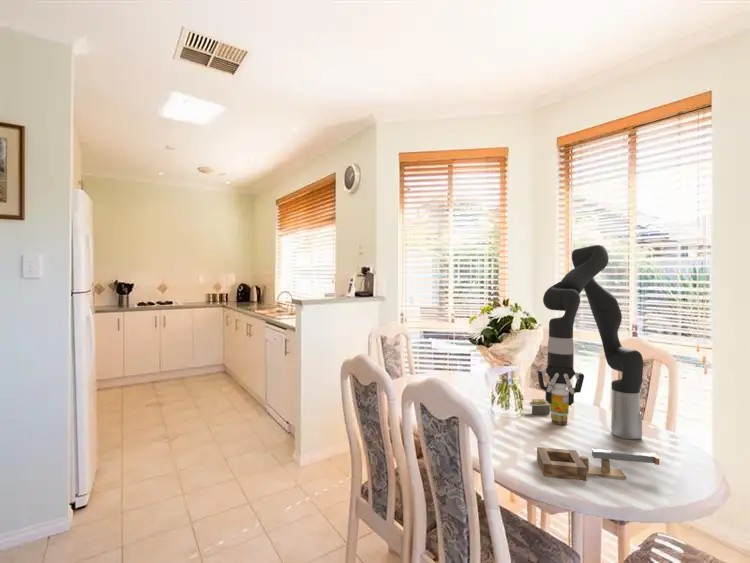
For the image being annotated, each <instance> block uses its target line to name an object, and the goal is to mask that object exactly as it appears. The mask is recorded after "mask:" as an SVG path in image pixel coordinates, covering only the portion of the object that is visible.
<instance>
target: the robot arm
mask: <svg viewBox="0 0 750 563" xmlns="http://www.w3.org/2000/svg"><path fill="white" fill-rule="evenodd" d="M609 261H610V260H609V252H608V251H607V249H606V248H605V246H604V245H602V244H592V245H588V246H583V247H579V248H576V249H573V251H572V252H571V262H572V264H573V269H571V270H570V271H568V272H567V273H566V274H565V275H564V277H563V278H562V279H561V280H560V281H559V282H557V283H555V284H553V285H551V286H550V287H548V289H547V290H546V291H545V292H544V294H543V297H542V298H543V299H542V302H543V304H544V306H545V308H547V310H550V311H559V312H560V311H561V312H562V311H563V312H564V313H563V315H562V316H561V317H553V318H551V319H550V320H549V322H548V339H547V340H548V341H547V361H546V362H547V363H546V364H547V366H546V368H545V369H537V370H536V373H537V374H536V375H537V379H538V384H539V388H540V389H541V390H543V391H545V395H544V396H545V398H544V400H546V401H547V402H548V404H551V392H550V391H551V389H552V387H553V386H554V384H555V383H563V384H567V387H566V389H567V390H568V392H569V406H572V405H573V404H574V403H575V400H574V398H575V394H576V393H581V391H582V387H583V385H584V384H583V383H584V379H585V375H584V373H583V372H578V371H577V372H576V371H575V369H574V353H575V351H574V349H575V348H574V345H575V344H574V323H575V320H576V315H577V312H578V311H579V310H578V309H579V306H580V303H581V295H580V294H581V293H582V292H583V290H584V292H585V295H586V298H587V301H588V305H589V308H590V310H591V313H592V316H593V319H594V321H595V324H596V327H597V330H598V334H599V336H600V340H601V343H602V347H603V348H602V349H603V352H604V357H605V360H606V362H607V363H606V364H607V365H608V367H609V368H611V369H612V370H614V371H618V372H621V373H622V374H621V379H614V380H612V381H611V390H610V391H611V392H610V393H611V394H610V395H611V397H610V398H611V401H610V402H611V404H610V405H611V406H610V407H611V411H610V412H611V420H610V421H611V422H610V423H611V424H610V425H611V434H612V435H614V436H615V437H618V438H620V439H625V440H638V439H639V440H641V439H643V413H642V412H641V387H642V385H643V373H644V358H643V355H642V353H641V352H640V351H639V350H636V349H633V348H626V347H623V346H622V344H621V341H620V339H619V334H618V333H619V329H620V326H621V323H622V319H623V315H622V311H621V309H620V306H619V303H618V302H619V301H618V300H617V298H616V296H614V294H612V293H611V292H610V291H608V290H607V289H606V288H604V287H603V286H602V285H601V284H600V283H599V282H598V281H597V280H596V279H595V278H594V277H596V276H597V275H598V274H599V273H600V272H602V271H603V270H604V269H605V268H606V267H607V266H608V264H609ZM546 374H547V376H548V377H549V379H548V381H547V384H546V385H545V382H544V378H545V376H546ZM574 376H575V379H576V382H575V385H574V387H573V384H572V383H571V379H572V378H574Z"/></svg>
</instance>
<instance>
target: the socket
mask: <svg viewBox="0 0 750 563" xmlns="http://www.w3.org/2000/svg"><path fill="white" fill-rule="evenodd" d="M580 456H581V455H580V454H579V453H578V451H577V450H576V449H564V448H563V449H562V448H553V447H552V448H551V447H541V446H537V447H536V460H537V462H538V465H539V468H540V471H541V474H542V476H543V477H544V478H554V479H562V480H563V479H564V480H574V481H581V480H582V481H583V482H587V476H586V466H585V465H584V463H583V461H582V460H581V458H580Z"/></svg>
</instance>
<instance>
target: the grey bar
mask: <svg viewBox="0 0 750 563" xmlns="http://www.w3.org/2000/svg"><path fill="white" fill-rule="evenodd" d="M591 456H592V457H593V459H609V460H610V461H611V460H612V461H622V462H634V463H646V464H647V463H648V464H654V465H656V466H660V457H659V456H658V455H657V454H656V453H655V452H650V453H648V452H645V453H644V452H635V451H624V450H623V451H622V450H611V449H599V448H597V449H596V448H592V449H591Z"/></svg>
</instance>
